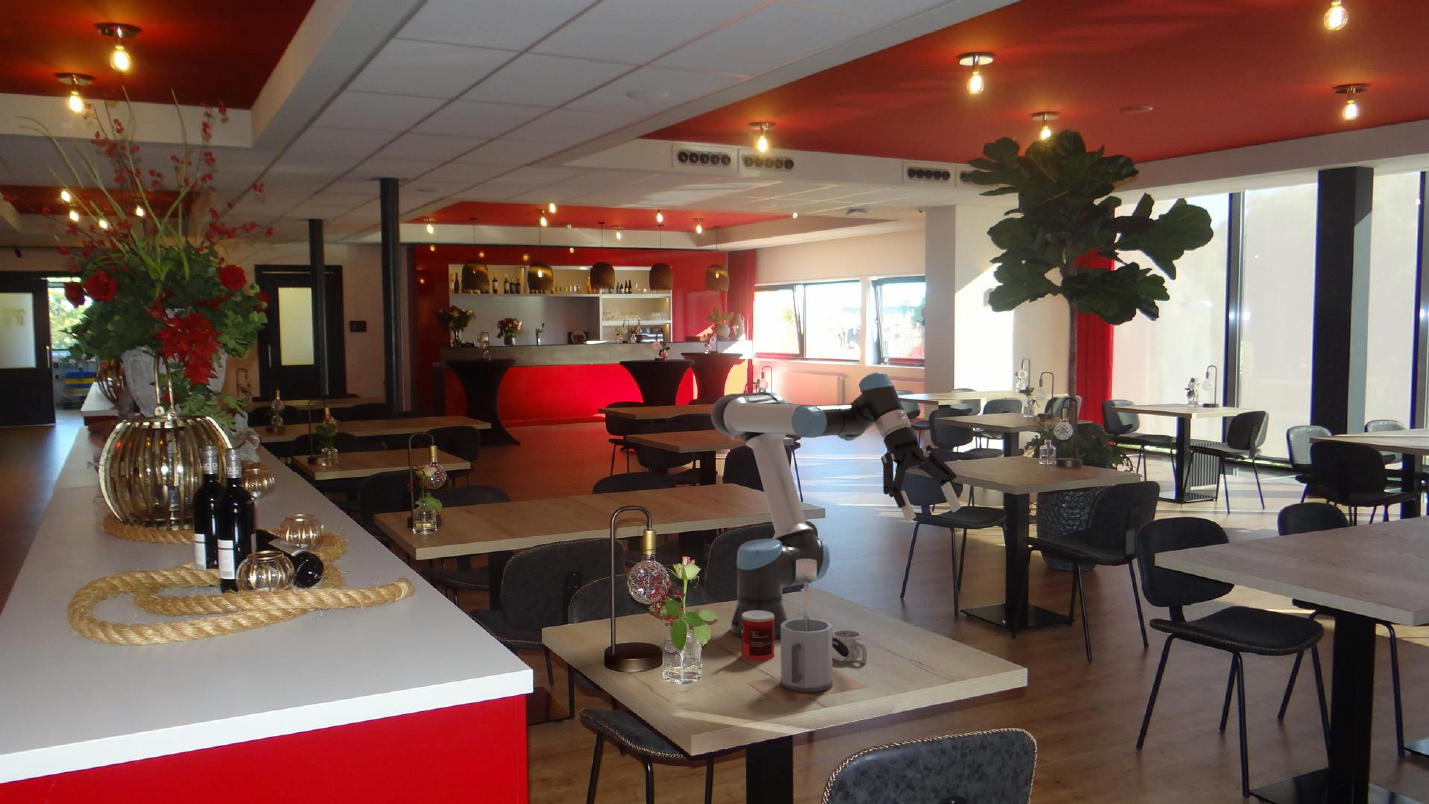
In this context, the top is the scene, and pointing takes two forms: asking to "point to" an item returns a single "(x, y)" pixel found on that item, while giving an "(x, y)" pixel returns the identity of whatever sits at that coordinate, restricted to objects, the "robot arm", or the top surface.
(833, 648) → the mug
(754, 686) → the serving board
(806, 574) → the plunger
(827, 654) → the grey cup
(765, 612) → the canned food
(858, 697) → the top surface
